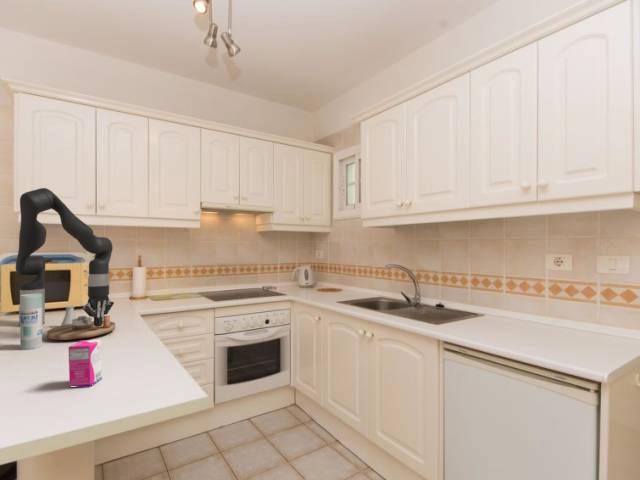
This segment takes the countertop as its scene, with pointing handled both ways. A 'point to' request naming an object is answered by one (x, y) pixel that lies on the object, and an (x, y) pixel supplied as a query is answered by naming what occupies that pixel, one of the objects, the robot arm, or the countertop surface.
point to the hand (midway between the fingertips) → (98, 326)
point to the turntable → (67, 332)
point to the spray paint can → (30, 321)
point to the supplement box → (85, 363)
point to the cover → (81, 323)
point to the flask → (69, 315)
